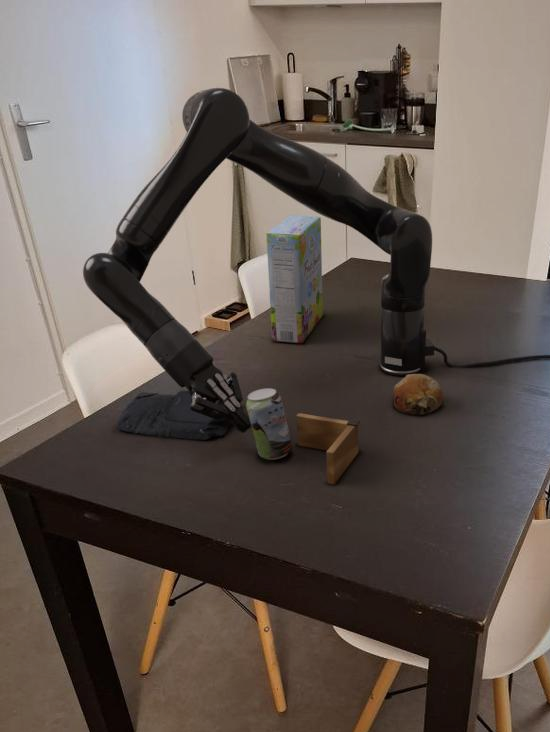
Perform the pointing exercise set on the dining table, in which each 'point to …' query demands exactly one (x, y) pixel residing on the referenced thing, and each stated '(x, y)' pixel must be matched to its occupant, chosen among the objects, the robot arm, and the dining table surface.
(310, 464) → the dining table surface
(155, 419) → the grommeted fabric pouch
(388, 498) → the dining table surface
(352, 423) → the shelf corner
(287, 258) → the snack box
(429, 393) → the bread roll
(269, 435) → the beverage can
